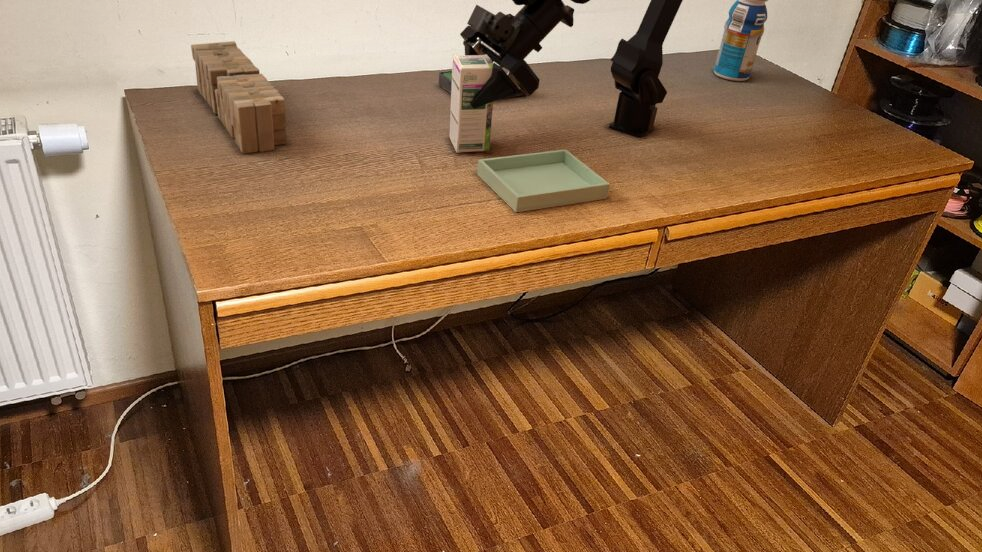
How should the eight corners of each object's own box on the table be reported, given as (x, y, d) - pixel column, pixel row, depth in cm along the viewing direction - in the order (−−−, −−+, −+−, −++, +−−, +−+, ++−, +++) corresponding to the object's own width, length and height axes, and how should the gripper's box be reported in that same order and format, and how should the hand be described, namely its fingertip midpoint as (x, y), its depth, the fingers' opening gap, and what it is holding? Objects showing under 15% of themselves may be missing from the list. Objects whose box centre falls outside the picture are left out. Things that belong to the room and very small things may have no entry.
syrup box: (456, 153, 132) (461, 68, 122) (448, 137, 136) (452, 53, 127) (489, 152, 133) (497, 67, 124) (480, 135, 137) (487, 52, 128)
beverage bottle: (707, 68, 183) (731, -25, 171) (742, 70, 184) (769, -22, 172) (718, 80, 177) (744, -16, 165) (754, 83, 177) (783, -12, 166)
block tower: (290, 153, 128) (239, 84, 147) (288, 102, 123) (236, 37, 142) (240, 159, 124) (195, 87, 143) (236, 107, 119) (190, 40, 138)
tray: (515, 212, 117) (517, 197, 116) (476, 174, 126) (478, 159, 125) (607, 198, 124) (610, 184, 122) (563, 163, 133) (566, 149, 132)
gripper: (476, -28, 128) (409, 45, 130) (532, 5, 115) (456, 85, 117) (513, 22, 136) (449, 89, 138) (570, 58, 123) (498, 132, 125)
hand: (461, 97), depth 129 cm, fingers closed on syrup box, 7 cm apart
